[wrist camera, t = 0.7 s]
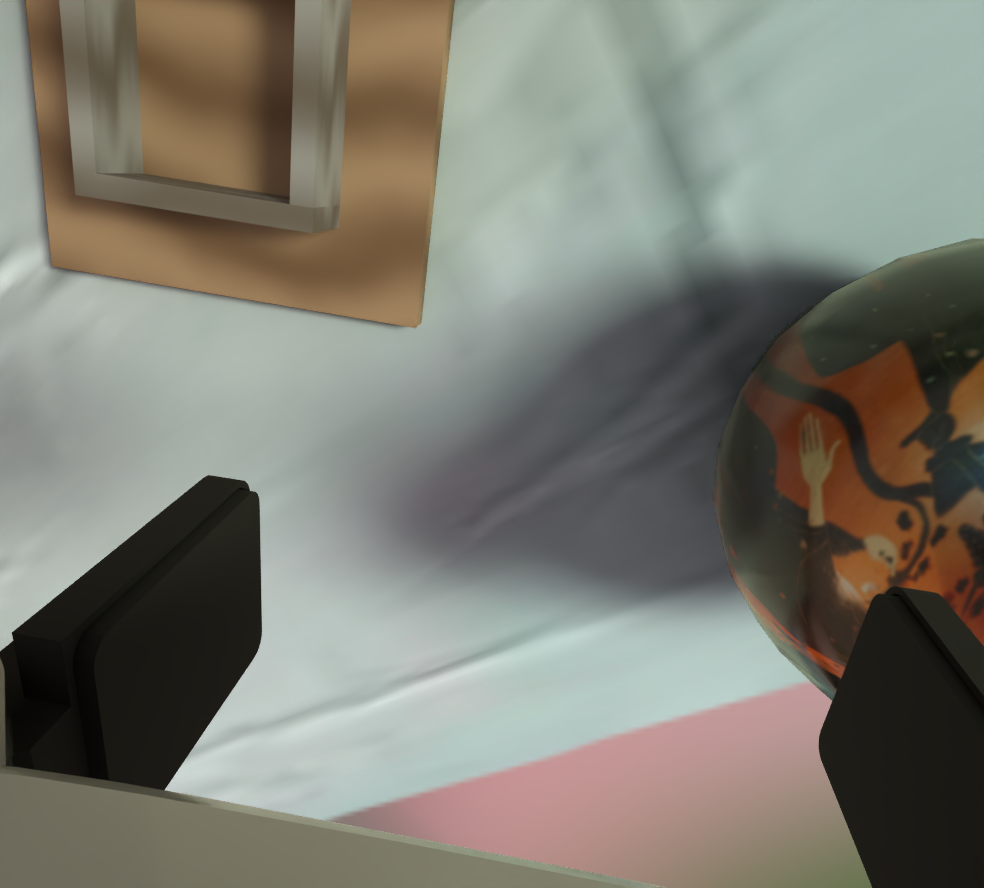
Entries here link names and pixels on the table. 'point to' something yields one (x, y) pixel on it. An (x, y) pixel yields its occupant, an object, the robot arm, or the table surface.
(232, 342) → the table surface
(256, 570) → the robot arm
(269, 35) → the collar board
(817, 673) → the amphora vase
